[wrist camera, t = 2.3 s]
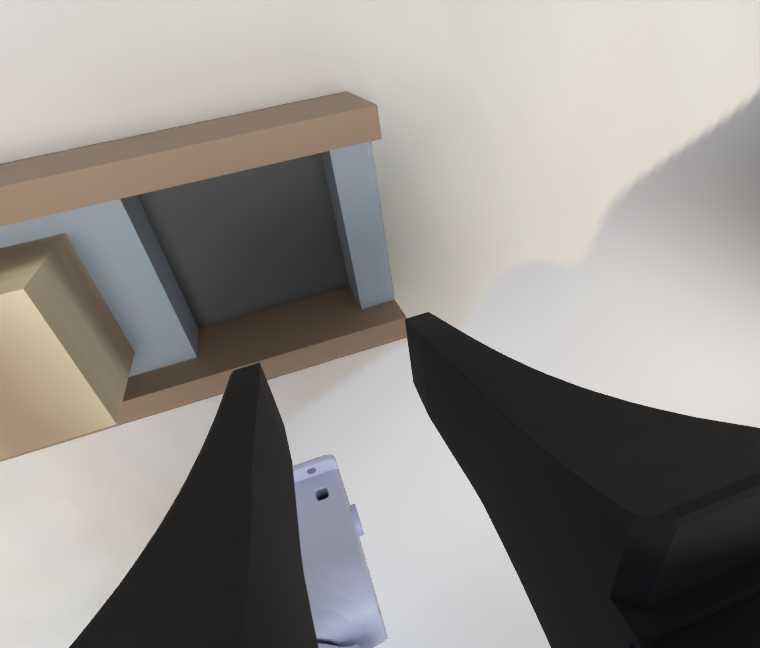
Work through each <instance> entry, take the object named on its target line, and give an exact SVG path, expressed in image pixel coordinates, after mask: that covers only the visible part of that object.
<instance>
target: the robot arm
mask: <svg viewBox="0 0 760 648" xmlns="http://www.w3.org/2000/svg"><path fill="white" fill-rule="evenodd" d="M405 325H406V332H407V339H408V346H409V353H410V361H411V368H412V375H413V382H414V385H415V387H416V389H417V391H418V393H419V396H420V398H421V400H422V402H423V404H424V406H425V409H426V411H427V413H428V415H429V417H430V418H431V420H432V422H433V423H434V425H435V427H436V428H437V430H438V431H439V433H440V435H441V436H442V438H443V440H444V441H445V443H446V444H447V446H448V448H449V449H450V451H451V452H452V454H453V456H454V457H455V459H456V460H457V462H458V464H459V465H460V467H461V468H462V470H463V472H464V473H465V475H466V476H467V478H468V479H469V481H470V483H471V484H472V486H473V487H474V489H475V491H476V493H477V494H478V496H479V498H480V499H481V501H482V503H483V505H484V507H485V509H486V511H487V513H488V514H489V517H490V519H491V521H492V523H493V525H494V527H495V529H496V531H497V533H498V535H499V537H500V539H501V541H502V543H503V545H504V547H505V549H506V551H507V553H508V555H509V557H510V560H511V562H512V564H513V566H514V568H515V570H516V572H517V574H518V576H519V578H520V580H521V583H522V584H523V587H524V589H525V591H526V593H527V596H528V598H529V600H530V602H531V604H532V606H533V609H534V611H535V613H536V615H537V617H538V620H539V622H540V624H541V626H542V628H543V630H544V633H545V635H546V637H547V639H548V642H549V644H550V646H551V648H760V428H755V427H749V426H744V425H737V424H732V423H726V422H719V421H714V420H708V419H702V418H696V417H691V416H687V415H682V414H678V413H673V412H669V411H664V410H659V409H656V408H651V407H647V406H643V405H639V404H636V403H632V402H628V401H624V400H621V399H618V398H614V397H611V396H608V395H604V394H601V393H598V392H594V391H591V390H588V389H585V388H582V387H579V386H576V385H574V384H571V383H568V382H565V381H563V380H561V379H558V378H555V377H553V376H550V375H547V374H545V373H543V372H540V371H538V370H535V369H533V368H531V367H528V366H527V365H524V364H522V363H520V362H518V361H516V360H514V359H511V358H509V357H507V356H505V355H503V354H501V353H499V352H497V351H495V350H494V349H491V348H490V347H488V346H486V345H484V344H482V343H481V342H479V341H477V340H475V339H473V338H472V337H470V336H468V335H466V334H465V333H463V332H461V331H459V330H458V329H456V328H454V327H453V326H451V325H449V324H448V323H446V322H444V321H443V320H441V319H439V318H438V317H436V316H434V315H433V314H431V313H429V312H427V313H424V314H421V315H417V316H414V317H410V318H407V319H405ZM310 468H312V469H310ZM363 534H364V533H363V529H362V526H361V523H360V519H359V516H358V513H357V509H356V506H355V504H353V505H350V504H349V501H348V498H347V495H346V492H345V488H344V485H343V482H342V479H341V476H340V472H339V469H338V466H337V463H336V460H335V457H334V456H332V455H324V456H322V457H318V458H316V459H313V460H310V461H307V462H304V463H301V464H298V465H295V466H292V459H291V455H290V450H289V446H288V441H287V436H286V432H285V427H284V424H283V421H282V418H281V416H280V413H279V411H278V408H277V406H276V403H275V400H274V398H273V395H272V393H271V390H270V387H269V385H268V382H267V380H266V377H265V374H264V372H263V369H262V367H261V364H260V363H257V364H253V365H250V366H247V367H243V368H240V369H237V370H233V372H232V373H231V375H230V377H229V380H228V383H227V386H226V389H225V392H224V395H223V398H222V401H221V403H220V406H219V409H218V411H217V414H216V416H215V419H214V421H213V423H212V426H211V428H210V431H209V433H208V435H207V438H206V440H205V442H204V445H203V447H202V449H201V451H200V453H199V455H198V457H197V459H196V461H195V463H194V465H193V467H192V469H191V471H190V473H189V475H188V477H187V479H186V481H185V483H184V485H183V487H182V488H181V490H180V492H179V494H178V496H177V498H176V499H175V501H174V503H173V504H172V506H171V508H170V510H169V511H168V513H167V514H166V516H165V518H164V519H163V521H162V523H161V524H160V526H159V528H158V529H157V531H156V532H155V534H154V535H153V537H152V538H151V540H150V541H149V543H148V544H147V546H146V547H145V549H144V550H143V552H142V553H141V555H140V556H139V558H138V559H137V561H136V562H135V563H134V565H133V566H132V568H131V569H130V571H129V572H128V573H127V575H126V576H125V578H124V579H123V580H122V582H121V583H120V584H119V586H118V587H117V588H116V590H115V591H114V592H113V593H112V595H111V596H110V597H109V599H108V600H107V601H106V602H105V604H104V605H103V606H102V608H101V609H100V610H99V611H98V613H97V614H96V615H95V617H94V618H93V619H92V620H91V622H90V623H89V624H88V625H87V626H86V628H85V629H84V630H83V631H82V633H81V634H80V635H79V636H78V638H77V639H76V640H75V641H74V642H73V644H72V645H71V646H70V647H69V648H373V647H375V646H376V645H379V644H380V643H382V642H384V641H385V640H386V639H387V634H386V630H385V626H384V623H383V619H382V616H381V612H380V609H379V605H378V602H377V598H376V594H375V591H374V587H373V584H372V581H371V577H370V573H369V570H368V566H367V563H366V559H365V556H364V552H363V549H362V545H361V542H360V538H359V536H361V535H363Z"/></svg>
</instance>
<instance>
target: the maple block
mask: <svg viewBox="0 0 760 648" xmlns="http://www.w3.org/2000/svg"><path fill="white" fill-rule="evenodd" d="M134 354H135V352H134V350H133V349H132V347H131V345H130V343H129V342H128V340H127V338H126V337H125V335H124V333H123V331H122V330H121V328H120V326H119V324H118V323H117V321H116V319H115V318H114V316H113V314H112V312H111V311H110V309H109V307H108V306H107V304H106V302H105V300H104V299H103V297H102V295H101V293H100V292H99V290H98V288H97V287H96V285H95V283H94V281H93V280H92V278H91V276H90V275H89V273H88V271H87V269H86V268H85V266H84V264H83V262H82V261H81V259H80V257H79V256H78V254H77V252H76V250H75V249H74V247H73V245H72V244H71V242H70V240H69V238H68V237H67V235H66V233H62V234H58V235H54V236H50V237H46V238H41V239H37V240H33V241H29V242H24V243H20V244H16V245H12V246H8V247H3V248H0V460H2V459H5V458H8V457H12V456H15V455H18V454H21V453H25V452H28V451H31V450H35V449H38V448H41V447H44V446H48V445H51V444H54V443H57V442H61V441H64V440H67V439H71V438H74V437H77V436H80V435H84V434H87V433H90V432H93V431H97V430H100V429H103V428H107V427H110V426H113V425H116V424H117V421H118V417H119V413H120V409H121V406H122V402H123V398H124V394H125V390H126V386H127V382H128V378H129V374H130V370H131V366H132V362H133V358H134Z"/></svg>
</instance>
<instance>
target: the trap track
mask: <svg viewBox="0 0 760 648" xmlns="http://www.w3.org/2000/svg"><path fill="white" fill-rule="evenodd" d="M378 139H382V138H381V131H380V124H379V116H378V109H377V105H376V104H373V103H371V102H369V101H367V100H365V99H362V98H360V97H358V96H356V95H354V94H351V93H349V92H342V93H337V94H333V95H328V96H323V97H318V98H314V99H309V100H304V101H299V102H294V103H290V104H285V105H280V106H275V107H271V108H266V109H261V110H256V111H252V112H247V113H242V114H237V115H232V116H228V117H223V118H218V119H213V120H209V121H204V122H199V123H194V124H190V125H185V126H180V127H175V128H171V129H166V130H161V131H156V132H151V133H147V134H142V135H137V136H132V137H128V138H123V139H118V140H113V141H109V142H104V143H99V144H94V145H89V146H85V147H80V148H75V149H70V150H66V151H61V152H56V153H51V154H47V155H42V156H37V157H32V158H28V159H23V160H18V161H13V162H8V163H4V164H0V248H3V247H8V246H12V245H16V244H20V243H24V242H29V241H33V240H37V239H41V238H46V237H50V236H54V235H58V234H62V233H66V235H67V237H68V238H69V240H70V242H71V244H72V245H73V247H74V249H75V250H76V252H77V254H78V256H79V257H80V259H81V261H82V262H83V264H84V266H85V268H86V269H87V271H88V273H89V275H90V276H91V278H92V280H93V281H94V283H95V285H96V287H97V288H98V290H99V292H100V293H101V295H102V297H103V299H104V300H105V302H106V304H107V306H108V307H109V309H110V311H111V312H112V314H113V316H114V318H115V319H116V321H117V323H118V324H119V326H120V328H121V330H122V331H123V333H124V335H125V337H126V338H127V340H128V342H129V343H130V345H131V347H132V349H133V350H134V352H135V354H134V358H133V362H132V366H131V370H130V374H129V378H128V382H127V386H126V390H125V394H124V398H123V402H122V406H121V409H120V413H119V417H118V421H117V424H116V425H113V426H110V427H107V428H103V429H100V430H97V431H93V432H90V433H87V434H84V435H80V436H77V437H74V438H71V439H67V440H64V441H61V442H57V443H54V444H51V445H48V446H44V447H41V448H38V449H35V450H31V451H28V452H25V453H21V454H18V455H15V456H12V457H8V458H5V459H2V460H0V462H1V461H4V460H7V459H11V458H14V457H17V456H21V455H24V454H27V453H30V452H34V451H37V450H40V449H43V448H47V447H50V446H53V445H56V444H60V443H63V442H66V441H70V440H73V439H76V438H79V437H83V436H86V435H89V434H92V433H96V432H99V431H102V430H106V429H109V428H112V427H115V426H119V425H122V424H125V423H128V422H132V421H135V420H138V419H141V418H145V417H148V416H151V415H155V414H158V413H161V412H164V411H168V410H171V409H174V408H177V407H181V406H184V405H187V404H190V403H194V402H197V401H200V400H204V399H207V398H210V397H213V396H217V395H220V394H223V393H224V392H225V389H226V386H227V383H228V380H229V377H230V375H231V373H232V372H233V370H237V369H240V368H243V367H247V366H250V365H253V364H257V363H260V364H261V367H262V369H263V372H264V374H265V377H266V380H269V379H272V378H275V377H279V376H282V375H285V374H289V373H292V372H295V371H298V370H302V369H305V368H308V367H311V366H315V365H318V364H321V363H324V362H328V361H331V360H334V359H338V358H341V357H344V356H347V355H351V354H354V353H357V352H360V351H364V350H367V349H370V348H374V347H377V346H380V345H383V344H387V343H390V342H393V341H396V340H400V339H403V338H406V337H407V332H406V325H405V319H406V316H405V315H404V313H403V312H402V310H401V309H400V307H399V306H398V304H397V303H396V301H395V299H394V293H393V286H392V279H391V273H390V266H389V260H388V253H387V246H386V240H385V233H384V227H383V220H382V213H381V207H380V200H379V194H378V187H377V180H376V174H375V167H374V161H373V154H372V147H371V141H374V140H378Z"/></svg>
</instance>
